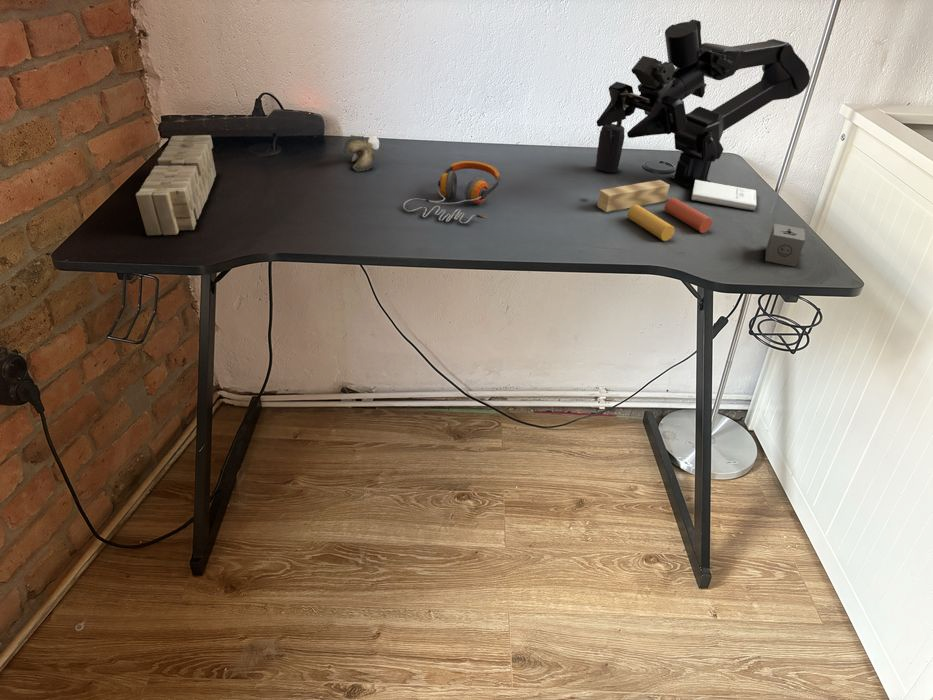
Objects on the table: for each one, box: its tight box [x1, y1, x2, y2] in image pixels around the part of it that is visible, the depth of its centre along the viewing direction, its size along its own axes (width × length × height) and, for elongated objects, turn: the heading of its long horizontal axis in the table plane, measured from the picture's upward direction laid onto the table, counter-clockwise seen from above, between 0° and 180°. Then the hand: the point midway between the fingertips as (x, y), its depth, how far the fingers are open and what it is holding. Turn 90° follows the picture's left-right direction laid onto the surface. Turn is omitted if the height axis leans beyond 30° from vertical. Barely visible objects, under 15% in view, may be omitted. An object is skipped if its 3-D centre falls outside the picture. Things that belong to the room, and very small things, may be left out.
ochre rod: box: [627, 205, 675, 242], centre depth 128 cm, size 3×10×3 cm, turn 26°
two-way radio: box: [595, 120, 625, 174], centre depth 148 cm, size 6×4×15 cm
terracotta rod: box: [664, 197, 713, 234], centre depth 131 cm, size 3×10×3 cm, turn 26°
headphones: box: [402, 160, 501, 224], centre depth 134 cm, size 17×5×20 cm
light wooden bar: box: [597, 179, 670, 213], centre depth 137 cm, size 15×3×4 cm, turn 116°
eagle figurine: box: [341, 134, 380, 172], centre depth 149 cm, size 8×7×9 cm
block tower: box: [135, 134, 217, 236], centre depth 128 cm, size 8×8×29 cm
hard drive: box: [690, 180, 757, 211], centre depth 141 cm, size 2×8×12 cm
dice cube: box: [765, 223, 806, 267], centre depth 120 cm, size 5×5×5 cm
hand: (612, 129), depth 130 cm, fingers open, 9 cm apart
